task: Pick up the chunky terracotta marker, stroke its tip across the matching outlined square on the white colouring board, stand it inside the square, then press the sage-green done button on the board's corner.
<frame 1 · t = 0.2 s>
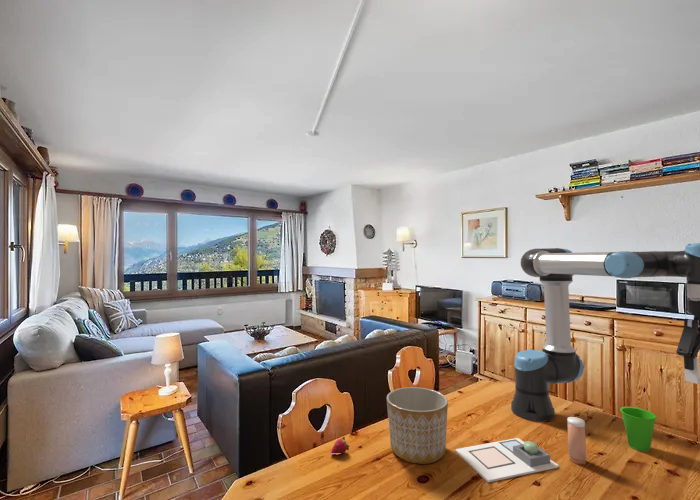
cup: (639, 448, 109), on the table
button housing: (531, 460, 102), resting on sheet
fruit: (339, 454, 108), on the table
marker: (577, 460, 102), on the table
sheet: (504, 458, 104), on the table
done button: (530, 448, 103), point 4 cm above the table, slide at 0.0 cm
planter: (417, 450, 109), on the table
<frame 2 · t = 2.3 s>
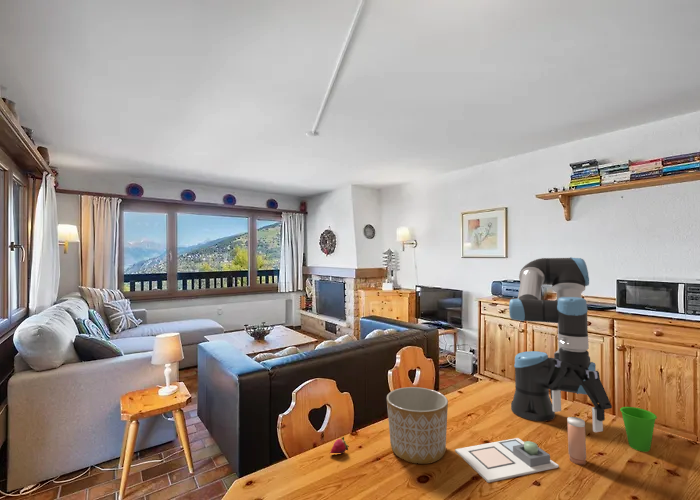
hand: (576, 420, 102), 12 cm above the table, fingers open, 13 cm apart
nothing on the table moved.
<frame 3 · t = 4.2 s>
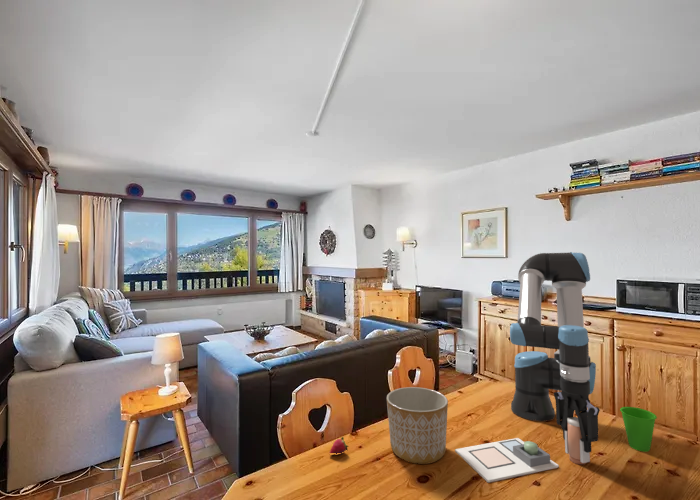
hand: (577, 456, 102), 1 cm above the table, fingers closed on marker, 4 cm apart
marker: (577, 460, 102), on the table, touching gripper
everything else where it was.
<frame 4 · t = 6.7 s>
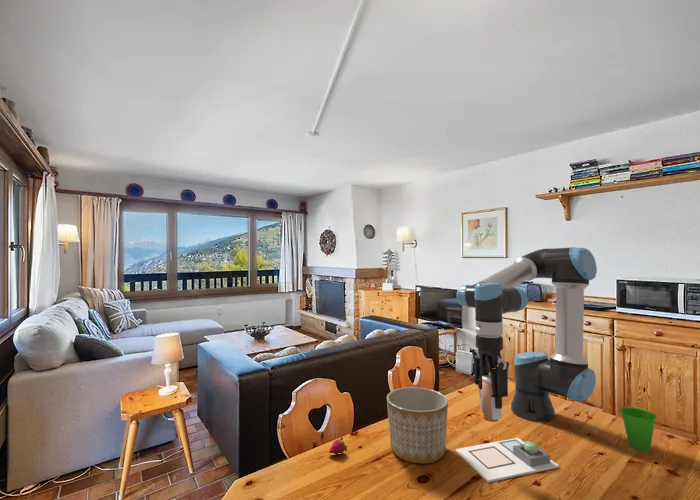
hand: (490, 414, 100), 15 cm above the table, fingers closed on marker, 4 cm apart
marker: (490, 418, 100), point 14 cm above the table, touching gripper
everything else where it was.
when the fingers open (2 cm above the table, at t = 9.5 s): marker stays where it is, resting on sheet.
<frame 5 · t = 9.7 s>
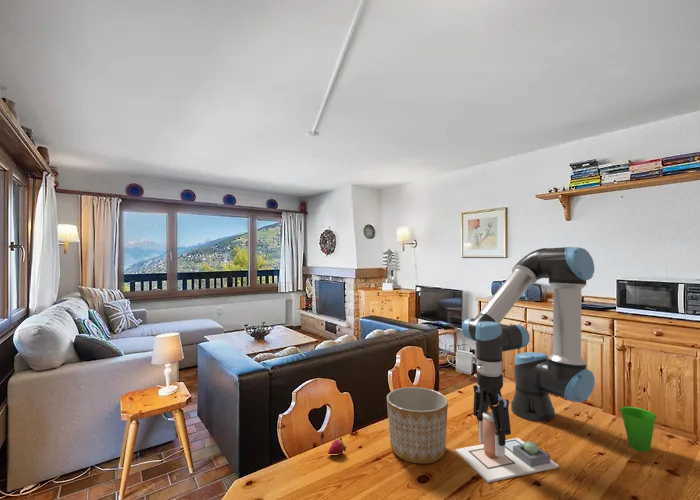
hand: (491, 448, 105), 3 cm above the table, fingers open, 7 cm apart
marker: (491, 454, 105), point 1 cm above the table, touching sheet
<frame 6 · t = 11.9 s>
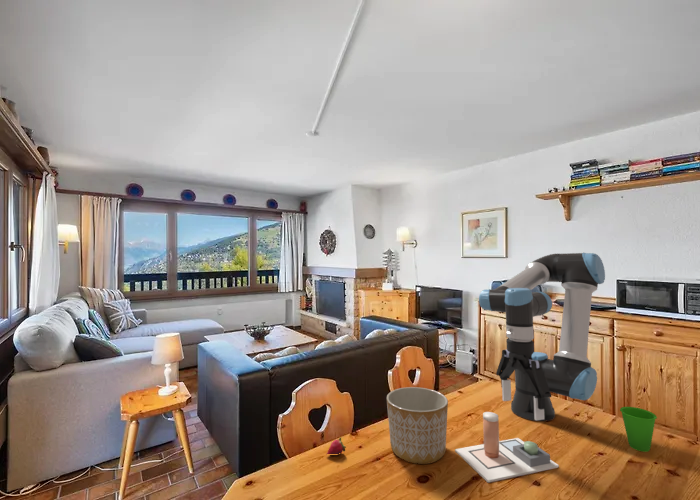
hand: (522, 409, 103), 15 cm above the table, fingers open, 13 cm apart
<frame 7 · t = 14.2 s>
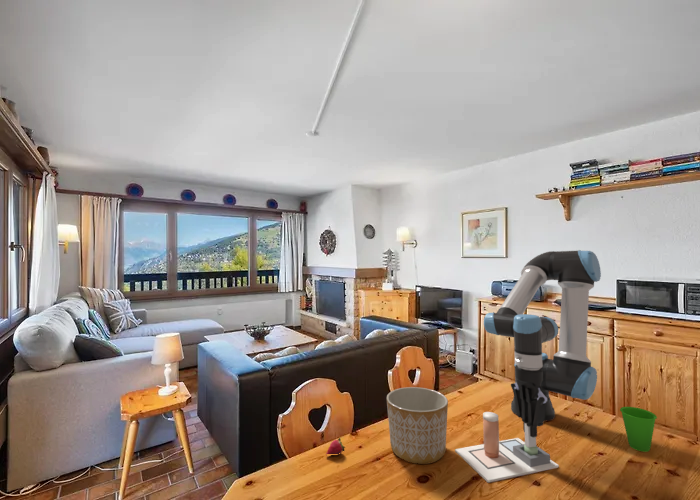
hand: (530, 445, 102), 4 cm above the table, fingers closed
done button: (531, 450, 103), point 3 cm above the table, slide at 0.6 cm, touching gripper
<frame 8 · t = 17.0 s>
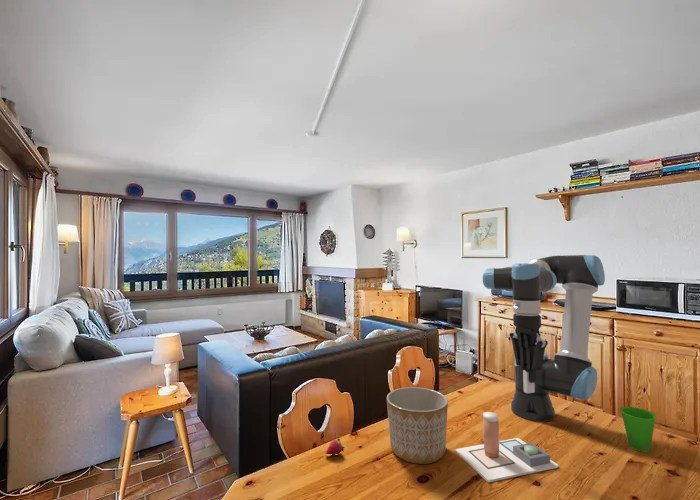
hand: (529, 391, 103), 20 cm above the table, fingers closed
done button: (531, 452, 103), point 2 cm above the table, slide at 1.2 cm
at the end: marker inside the target area on the sheet (1.4 cm from its centre), point 0.7 cm above the sheet's base; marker tilted 0°; done button slide at 1.2 cm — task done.
